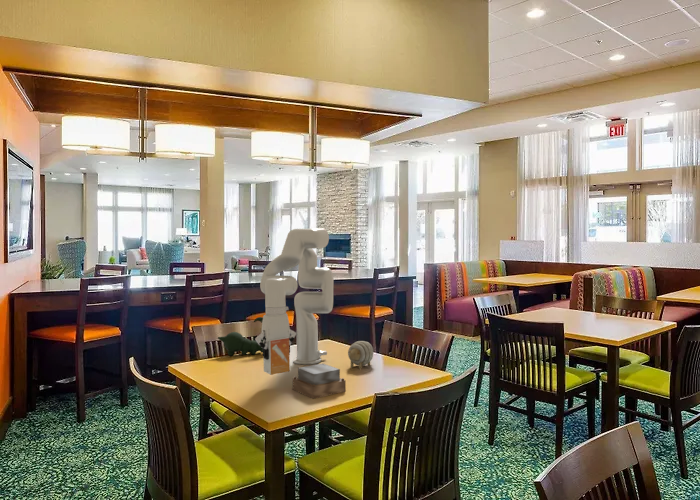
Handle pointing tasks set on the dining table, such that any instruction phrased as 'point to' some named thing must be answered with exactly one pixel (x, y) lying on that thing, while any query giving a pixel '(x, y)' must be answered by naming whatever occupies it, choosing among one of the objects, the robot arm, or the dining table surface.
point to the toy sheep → (360, 353)
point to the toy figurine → (241, 343)
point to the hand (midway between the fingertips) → (276, 356)
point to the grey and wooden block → (319, 381)
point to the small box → (277, 357)
